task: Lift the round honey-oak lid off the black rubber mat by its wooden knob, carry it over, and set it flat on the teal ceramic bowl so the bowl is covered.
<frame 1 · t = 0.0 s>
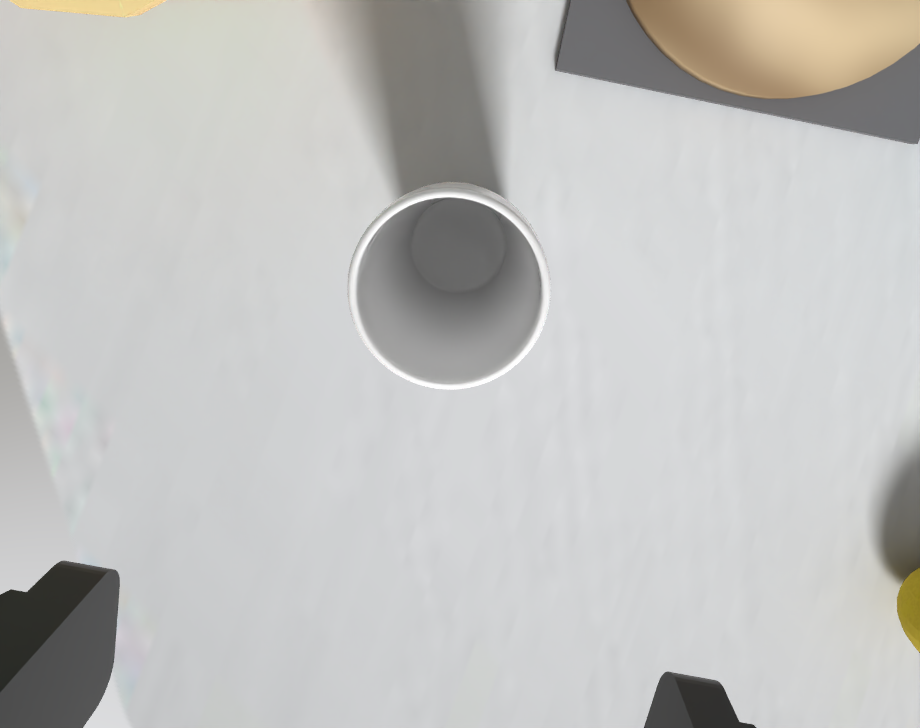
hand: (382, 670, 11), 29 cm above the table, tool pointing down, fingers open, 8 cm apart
lemon: (917, 577, 43), on the table
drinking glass: (459, 241, 38), on the table
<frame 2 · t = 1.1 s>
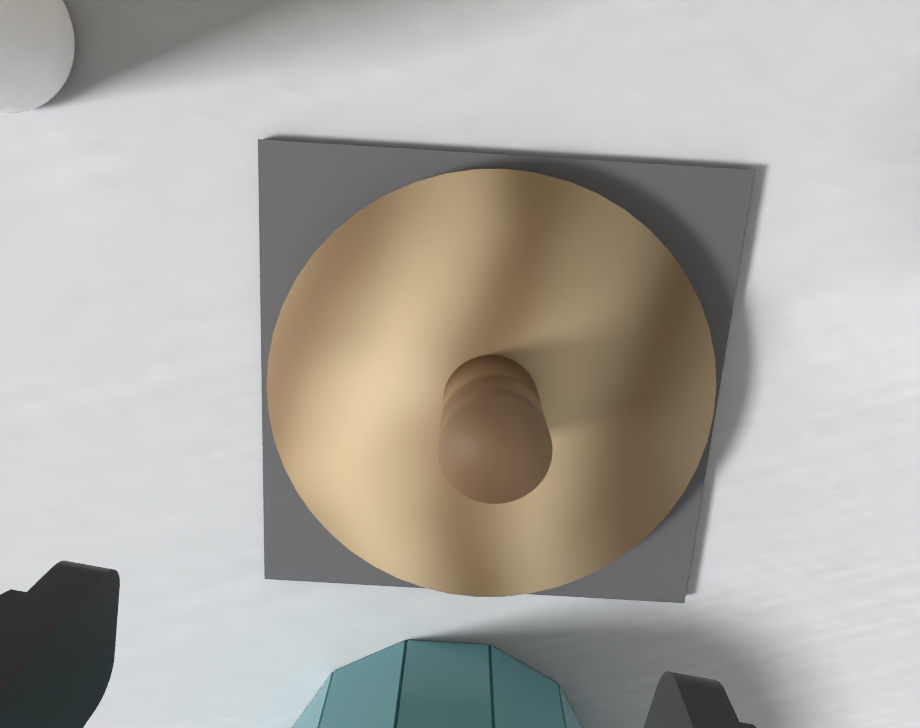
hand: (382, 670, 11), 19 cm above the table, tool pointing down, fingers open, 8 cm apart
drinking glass: (10, 36, 26), on the table
mat: (489, 387, 29), on the table
lid: (489, 391, 29), resting on mat
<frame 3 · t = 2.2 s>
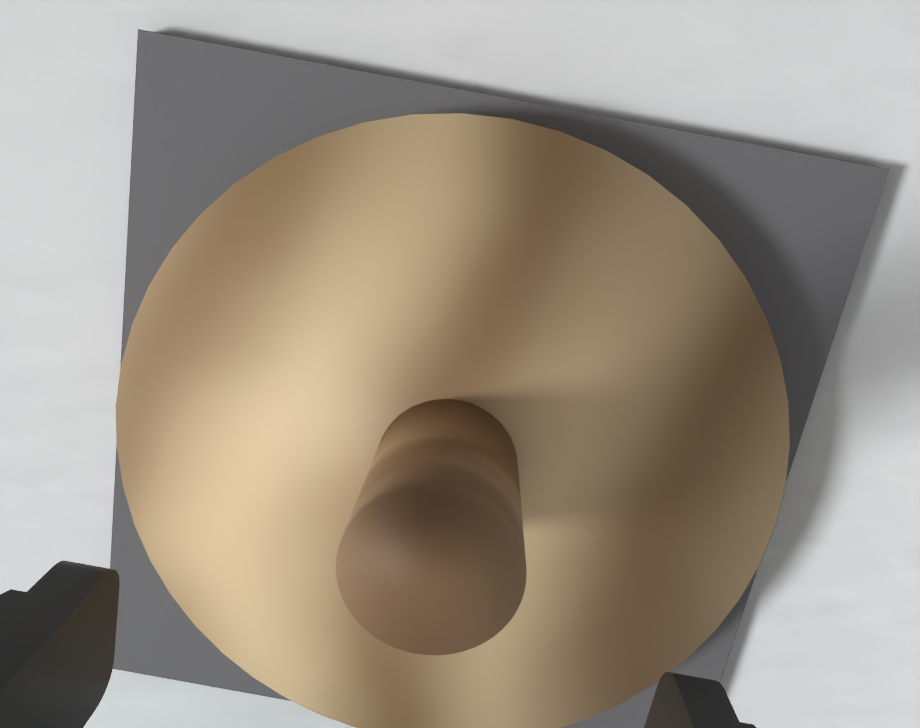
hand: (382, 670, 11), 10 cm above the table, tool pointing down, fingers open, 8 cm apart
mat: (450, 441, 20), on the table
lid: (449, 448, 20), resting on mat
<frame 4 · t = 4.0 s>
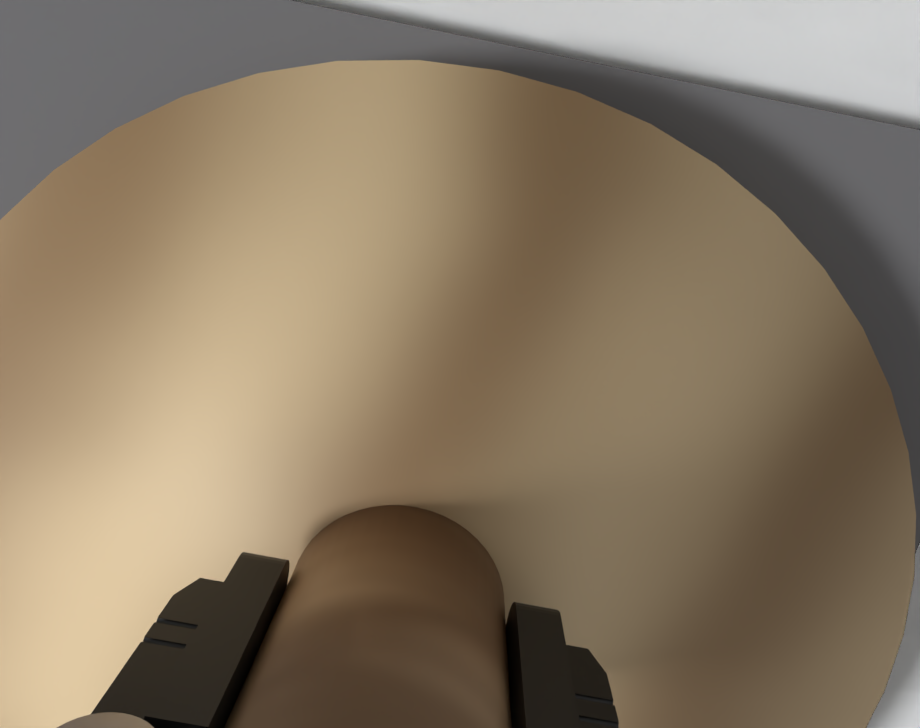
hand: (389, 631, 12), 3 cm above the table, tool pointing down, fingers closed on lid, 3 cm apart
mat: (405, 549, 14), on the table
lid: (404, 564, 14), resting on mat, touching gripper
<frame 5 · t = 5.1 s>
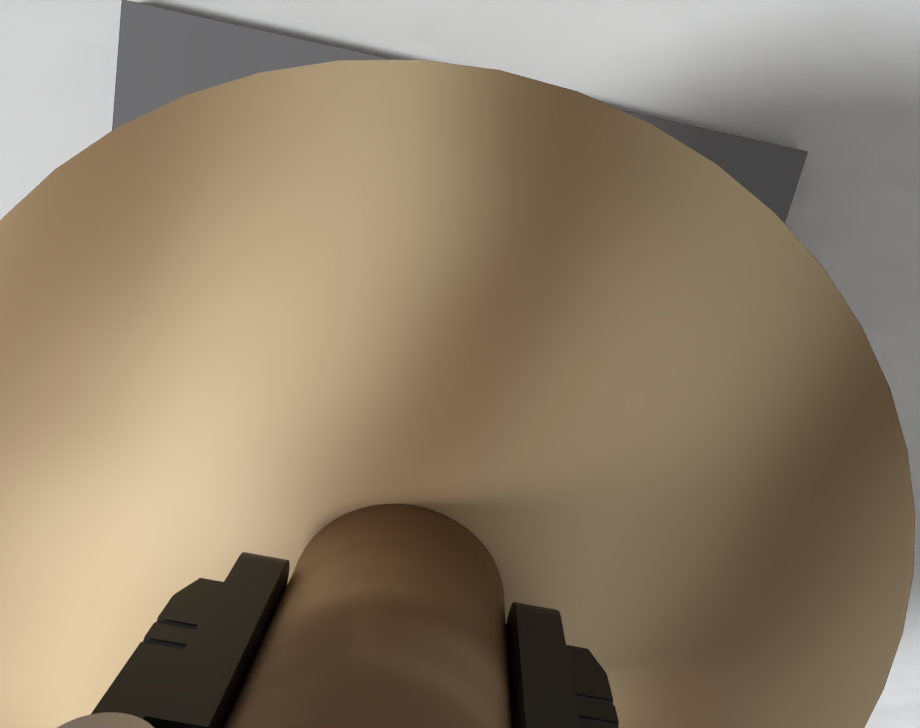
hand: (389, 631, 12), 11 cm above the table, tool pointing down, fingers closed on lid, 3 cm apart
mat: (410, 397, 22), on the table
lid: (404, 562, 14), point 9 cm above the table, touching gripper
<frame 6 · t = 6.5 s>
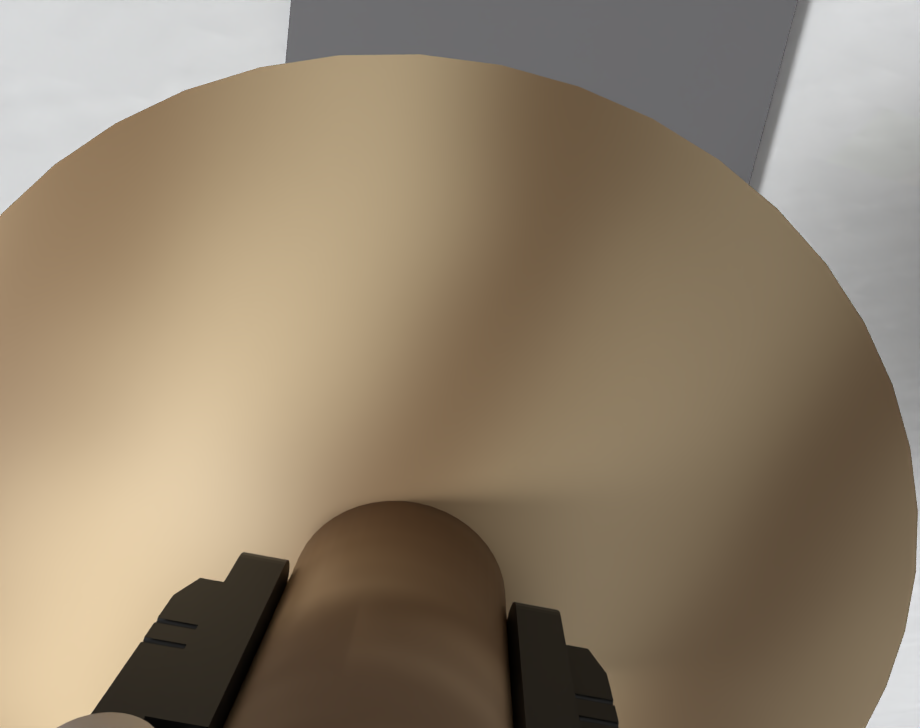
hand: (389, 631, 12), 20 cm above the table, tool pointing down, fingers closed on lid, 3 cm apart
mat: (515, 140, 28), on the table
lid: (405, 560, 13), point 18 cm above the table, touching gripper
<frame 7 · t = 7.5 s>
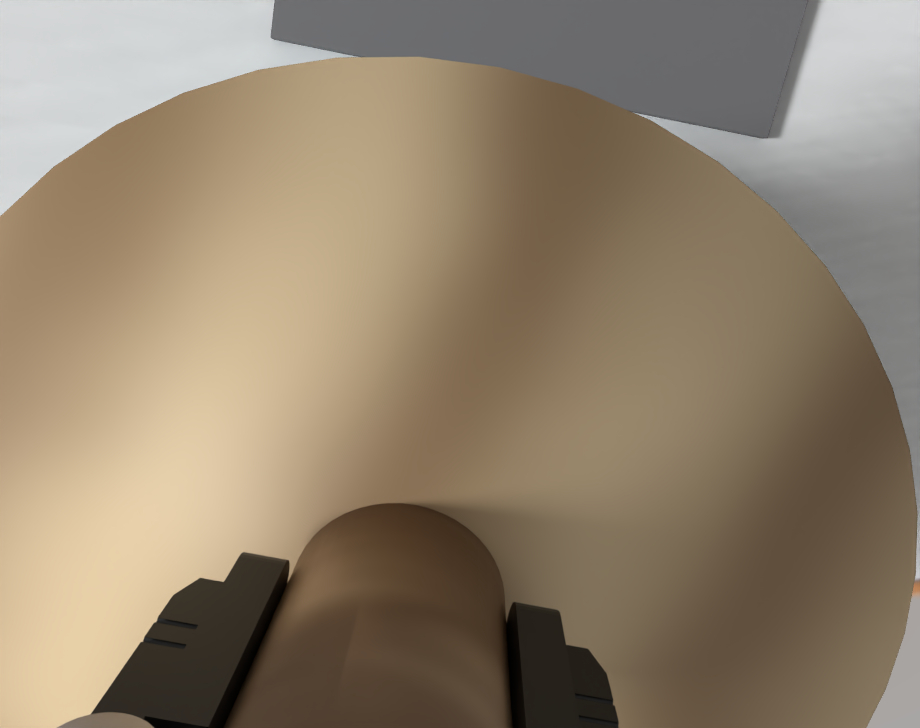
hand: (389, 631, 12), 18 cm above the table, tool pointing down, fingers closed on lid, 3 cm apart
lid: (404, 562, 13), point 16 cm above the table, touching gripper
when the fingers open (11 cm above the table, at t = 9.3 s): lid drops 1 cm, resting on bowl.
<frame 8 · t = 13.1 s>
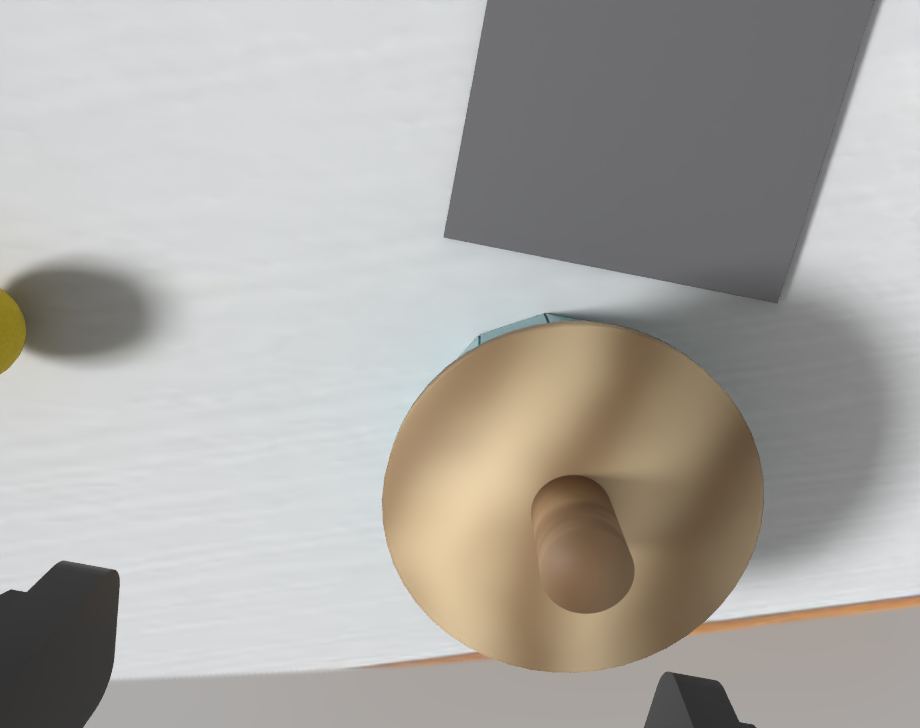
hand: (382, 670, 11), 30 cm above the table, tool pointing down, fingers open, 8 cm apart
bowl: (549, 437, 42), on the table
lemon: (7, 316, 41), on the table
mat: (654, 92, 37), on the table
lid: (568, 499, 34), point 8 cm above the table, touching bowl
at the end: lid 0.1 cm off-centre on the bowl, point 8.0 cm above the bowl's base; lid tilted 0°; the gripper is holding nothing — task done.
